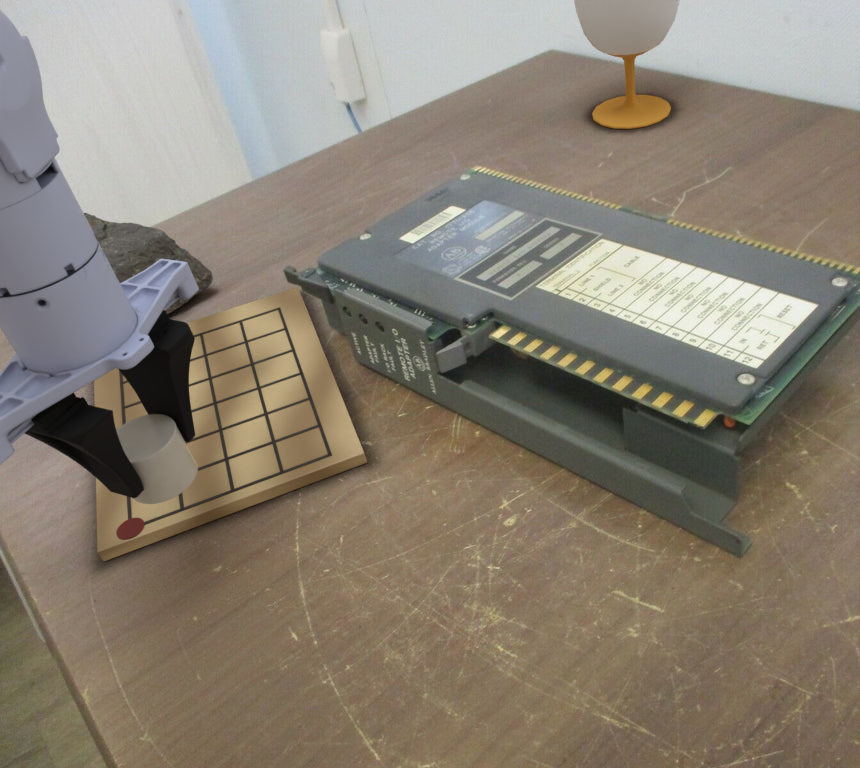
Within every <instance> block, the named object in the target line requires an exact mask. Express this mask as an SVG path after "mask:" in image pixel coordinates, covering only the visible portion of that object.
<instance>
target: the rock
mask: <svg viewBox="0 0 860 768" xmlns="http://www.w3.org/2000/svg"><path fill="white" fill-rule="evenodd" d="M83 213H84V215H85V217H86V219H87V221H88V223H89V225H90V226H91V228H92V230H93V232H94V234H95V236H96V238H97V240H98V242H99V244H100V246H101V248H102V250H103V252H104V254H105V256H106V258H107V259H108V261H109V263H110V265H111V267H112V269H113V271H114V273H115V275H116V277H117V279H118V281H119V283H122V282H124V281H126V280H128V279H129V278H131V277H133V276H135V275H137V274H139V273H140V272H142V271H144V270H145V269H147V268H148V267H150V266H152V265H153V264H154V263H156V262H157V261H158V260H160V259H168V260H175V261H182V262H187V263H188V265H189V268H190V270H191V272H192V274H193V276H194V279H195V281H196V283H197V285H198V288H199V291H197V292H196V293H195V294H194V295H193V296H192V297H191V298H189V299H180V298H179V299H178V300H177V301H176V302H175V303H173V304H172V305H171V306H170V307H169V308H168V309H167V310H165V311H166V313H167V315H169V314H171V313H172V312H174V311H175V310H177V309H179V308H181V307H182V306H183V305H185V304H186V303H188V302H189V301H190V300H191V299H192V298H193V297H194V296H196V295H198V294H200V293H202V292H203V291H204V290H205V289H207V288H208V287H209V286H211V284H212V283H213V280H214V279H213V278H214V277H213V272H212V270H210V269H209V268H208V267H207V266H205V265H204V263H202V261H201V260H200V259H198V258H196V257H194V256H193V255H192V254H191V253H190V252H189V250H187V249H185V248H182V247H181V246H180V245H178V244H177V243H176V241H175V239H173V238H171V237H170V236H169V235H168V234H167V233H166V232H165V231H164V230H162V229H159V228H157V227H151V226H146V225H142V224H140V223H134V222H115V221H108V220H105V219H102V218H99V217H97V216H96V215H94V214H93V215H92V214H90V213H88V212H83Z"/></svg>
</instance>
